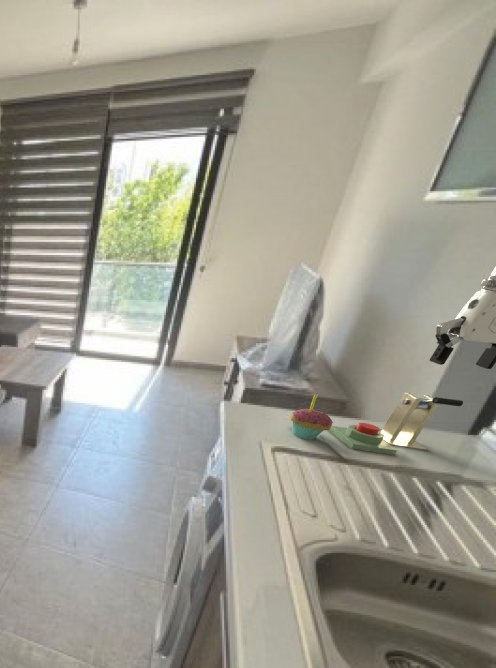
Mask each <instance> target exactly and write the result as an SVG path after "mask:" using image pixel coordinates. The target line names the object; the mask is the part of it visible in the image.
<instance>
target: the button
mask: <svg viewBox="0 0 496 668" xmlns="http://www.w3.org/2000/svg"><path fill="white" fill-rule="evenodd" d="M357 425H358V426H357V428H356V430H357V431H359V432H361V433H364V434H368V435H374V436H375V435H376V434H377V433H378V431H379V429H380V427H378V426H377V425H374V424H372V423H367V422H359V423H358V424H357Z"/></svg>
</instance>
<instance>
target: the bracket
mask: <svg viewBox="0 0 496 668" xmlns="http://www.w3.org/2000/svg"><path fill="white" fill-rule="evenodd" d="M420 398H425V399H429V400H433V398H434V397H433V396H431V395H430V394H423V396H422V397H418V396H417V395H415V394H412V393H411V392H404V393H403V395H402V397H401V398H400V399H399V402H398V404H397V405H396V406H395V409H394V410H393V411H392V413H391V414H390V416H389V418H388V420H387V421H386V423H385V424H384V426H383V428H382V429H380V428H379V432H381V433H382V434H384V438H383V441H384V442H386V443H387V444H389V445H390V446H397V447H404V448H411V449H417V450H423V451H428V448H426V447H425V446H424V445H422V444H421V443H419V442H417V441H416V440H417V438H418V436H419V435H420V434H421V432H422V430H423V429H424V428H425V426H426V425H427V423H428V422H429V420H430V419H431V417H432V416H433V414H434V412H435V411H436V409H437V408H438V407H439V405H428V407H427V409H415V408H416V407H417V405H418V403H419V402H420V400H421V399H420Z"/></svg>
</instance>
